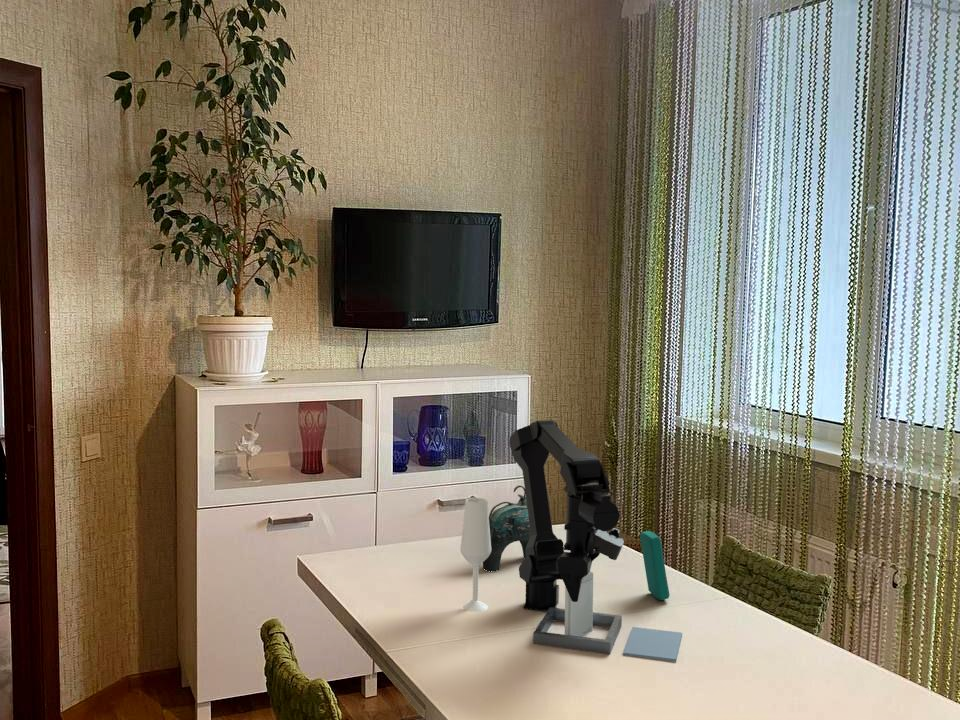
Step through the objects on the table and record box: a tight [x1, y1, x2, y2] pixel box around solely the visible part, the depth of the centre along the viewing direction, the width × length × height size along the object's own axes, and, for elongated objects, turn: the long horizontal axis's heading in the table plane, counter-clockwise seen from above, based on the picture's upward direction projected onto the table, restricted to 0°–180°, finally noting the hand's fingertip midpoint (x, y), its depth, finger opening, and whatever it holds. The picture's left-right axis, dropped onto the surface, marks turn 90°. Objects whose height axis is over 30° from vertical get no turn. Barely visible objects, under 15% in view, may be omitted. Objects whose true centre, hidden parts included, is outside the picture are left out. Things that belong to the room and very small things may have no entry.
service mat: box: [622, 626, 683, 663], centre depth 187 cm, size 10×14×1 cm
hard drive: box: [564, 570, 594, 637], centre depth 190 cm, size 2×8×12 cm, turn 139°
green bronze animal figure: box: [482, 485, 531, 573], centre depth 236 cm, size 20×6×20 cm, turn 133°
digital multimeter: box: [639, 530, 670, 601], centre depth 214 cm, size 7×15×3 cm
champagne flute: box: [459, 497, 491, 612], centre depth 205 cm, size 7×7×24 cm
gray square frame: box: [532, 607, 623, 655], centre depth 191 cm, size 15×15×2 cm
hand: (579, 594), depth 190 cm, fingers open, 9 cm apart
